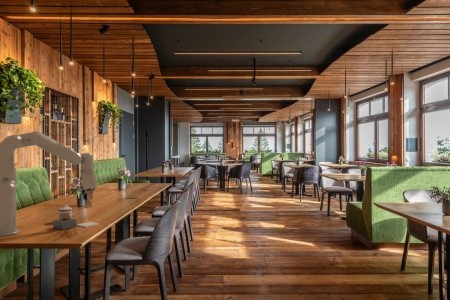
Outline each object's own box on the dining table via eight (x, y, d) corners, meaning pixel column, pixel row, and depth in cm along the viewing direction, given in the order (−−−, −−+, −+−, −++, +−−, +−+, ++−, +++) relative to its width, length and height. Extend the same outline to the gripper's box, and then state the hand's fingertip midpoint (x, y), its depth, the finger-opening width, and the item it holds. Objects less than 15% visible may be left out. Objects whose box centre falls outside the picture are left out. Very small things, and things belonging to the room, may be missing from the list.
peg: (87, 208, 234) (86, 189, 233) (82, 207, 236) (82, 189, 236) (93, 207, 238) (93, 188, 237) (88, 206, 240) (88, 188, 240)
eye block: (62, 229, 224) (62, 222, 224) (53, 228, 229) (53, 220, 229) (76, 226, 232) (76, 219, 232) (67, 225, 238) (67, 217, 237)
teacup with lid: (57, 223, 242) (57, 206, 242) (58, 220, 251) (58, 204, 251) (76, 222, 247) (76, 205, 247) (77, 219, 255) (76, 203, 255)
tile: (86, 227, 230) (86, 226, 230) (76, 225, 235) (76, 224, 235) (99, 224, 239) (99, 223, 239) (89, 222, 244) (89, 221, 244)
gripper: (80, 172, 228) (80, 201, 228) (101, 170, 241) (101, 198, 242) (72, 172, 232) (73, 200, 232) (94, 170, 245) (94, 197, 246)
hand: (87, 198), depth 237 cm, fingers closed on peg, 3 cm apart
